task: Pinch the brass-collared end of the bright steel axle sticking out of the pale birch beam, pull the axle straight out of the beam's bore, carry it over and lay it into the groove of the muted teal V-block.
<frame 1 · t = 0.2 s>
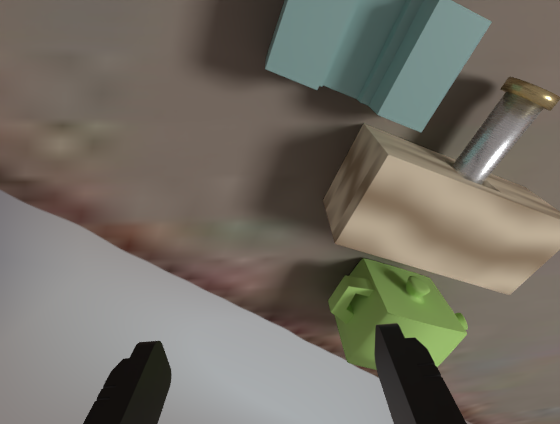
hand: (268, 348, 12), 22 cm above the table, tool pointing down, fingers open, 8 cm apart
v block: (356, 38, 26), on the table
axle: (453, 174, 31), point 2 cm above the table, touching beam
beam: (424, 193, 34), on the table
green cube pot: (388, 284, 42), on the table
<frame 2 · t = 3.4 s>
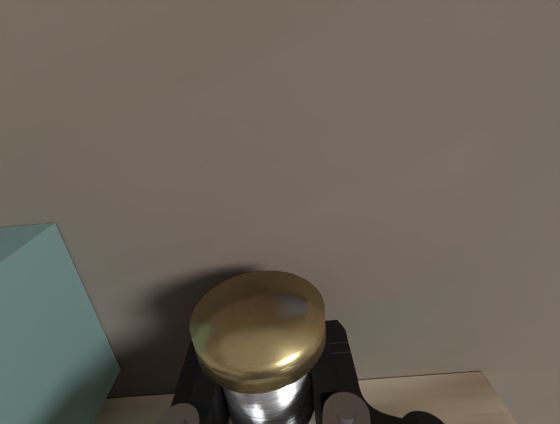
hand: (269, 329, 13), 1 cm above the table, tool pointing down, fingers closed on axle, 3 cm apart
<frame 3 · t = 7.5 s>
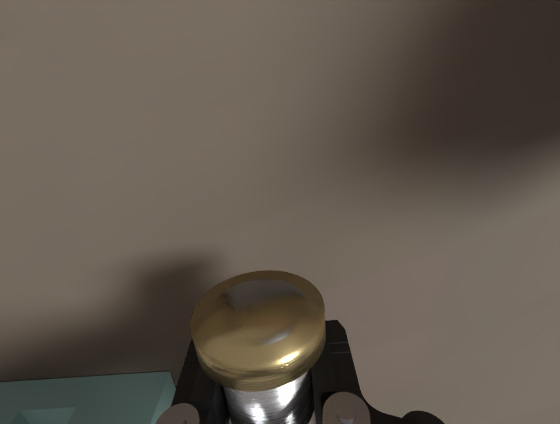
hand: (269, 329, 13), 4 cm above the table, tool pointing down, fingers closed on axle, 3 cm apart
v block: (91, 417, 22), on the table
when the fingers open (2 cm above the table, at t = 12.1 s): axle drops 1 cm, resting on v block.
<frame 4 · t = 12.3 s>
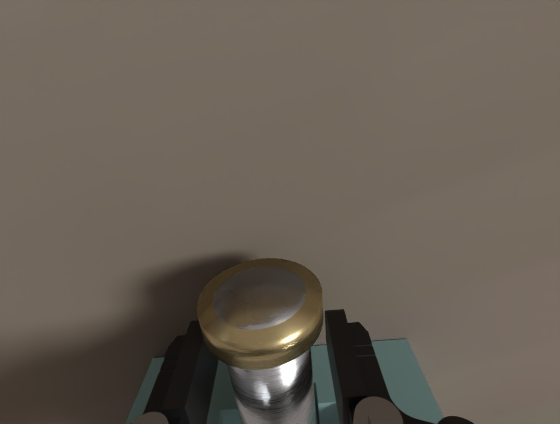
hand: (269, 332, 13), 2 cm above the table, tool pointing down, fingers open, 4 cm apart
v block: (285, 399, 18), on the table
axle: (280, 419, 15), point 2 cm above the table, tilted 7°, touching v block
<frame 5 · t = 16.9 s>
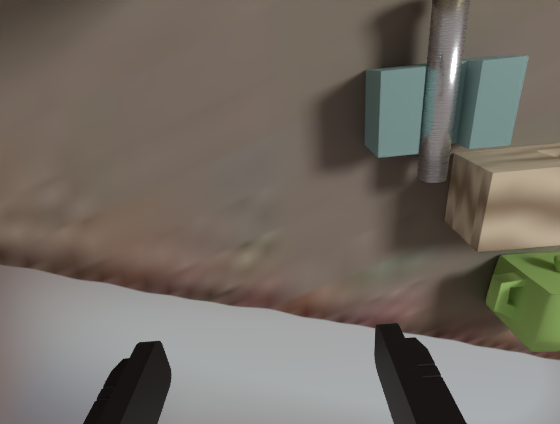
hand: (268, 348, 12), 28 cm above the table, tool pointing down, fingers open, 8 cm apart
v block: (424, 103, 35), on the table
axle: (432, 90, 33), point 2 cm above the table, tilted 6°, touching v block
beam: (531, 181, 39), on the table
green cube pot: (534, 270, 45), on the table
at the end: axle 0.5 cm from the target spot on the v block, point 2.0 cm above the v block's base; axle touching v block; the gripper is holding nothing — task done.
